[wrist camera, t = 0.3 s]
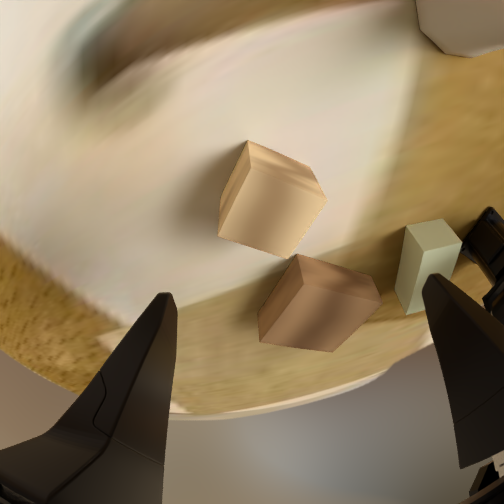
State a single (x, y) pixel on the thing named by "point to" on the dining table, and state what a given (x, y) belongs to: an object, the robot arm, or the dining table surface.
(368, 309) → the base block
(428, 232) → the block
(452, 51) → the flask
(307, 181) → the oak cube
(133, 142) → the dining table surface
